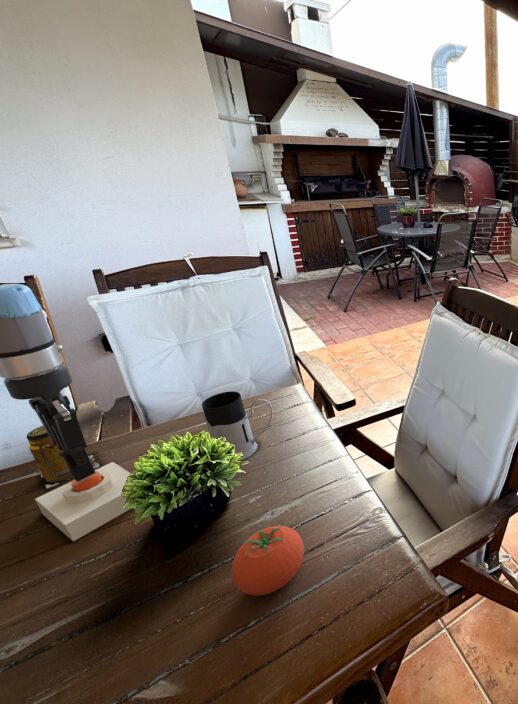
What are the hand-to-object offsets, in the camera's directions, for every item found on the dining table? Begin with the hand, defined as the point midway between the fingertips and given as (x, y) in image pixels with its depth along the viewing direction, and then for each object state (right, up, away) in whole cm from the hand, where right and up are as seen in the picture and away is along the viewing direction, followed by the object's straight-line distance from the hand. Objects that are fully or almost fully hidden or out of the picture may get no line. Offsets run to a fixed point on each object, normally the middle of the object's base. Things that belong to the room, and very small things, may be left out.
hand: (85, 475), depth 79 cm
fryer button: (0, -2, +1) cm, 2 cm away
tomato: (+45, -13, -12) cm, 48 cm away
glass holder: (+20, -1, +19) cm, 28 cm away
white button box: (0, -7, +3) cm, 8 cm away
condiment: (-16, -4, +12) cm, 21 cm away
